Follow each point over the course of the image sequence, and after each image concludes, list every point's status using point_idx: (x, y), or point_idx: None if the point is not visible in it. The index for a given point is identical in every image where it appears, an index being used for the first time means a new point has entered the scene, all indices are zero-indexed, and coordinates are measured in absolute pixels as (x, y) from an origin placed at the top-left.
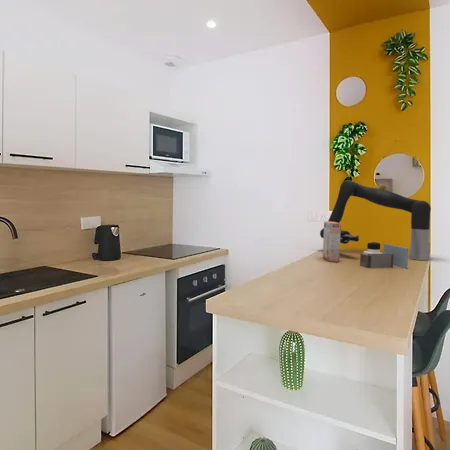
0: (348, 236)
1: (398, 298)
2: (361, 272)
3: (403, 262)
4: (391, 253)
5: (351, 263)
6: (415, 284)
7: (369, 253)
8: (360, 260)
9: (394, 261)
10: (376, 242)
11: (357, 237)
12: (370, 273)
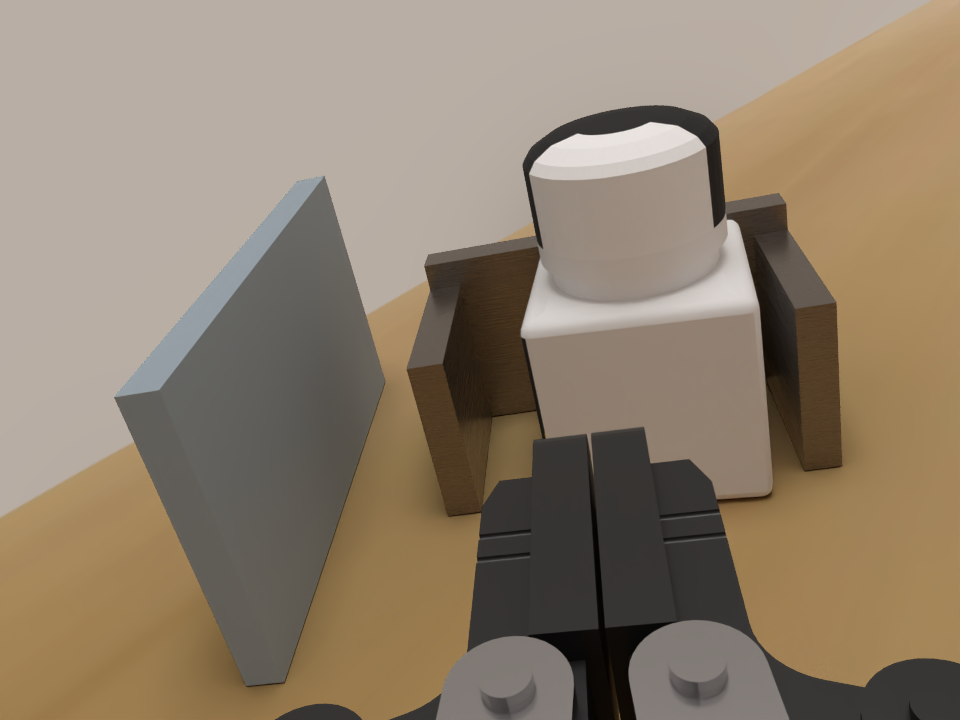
0: (932, 684)
1: (906, 41)
2: (946, 237)
3: (364, 340)
4: (449, 254)
5: (953, 584)
6: None
7: (739, 231)
8: (836, 395)
9: (335, 438)
10: (572, 130)
11: (568, 437)
12: (866, 229)
